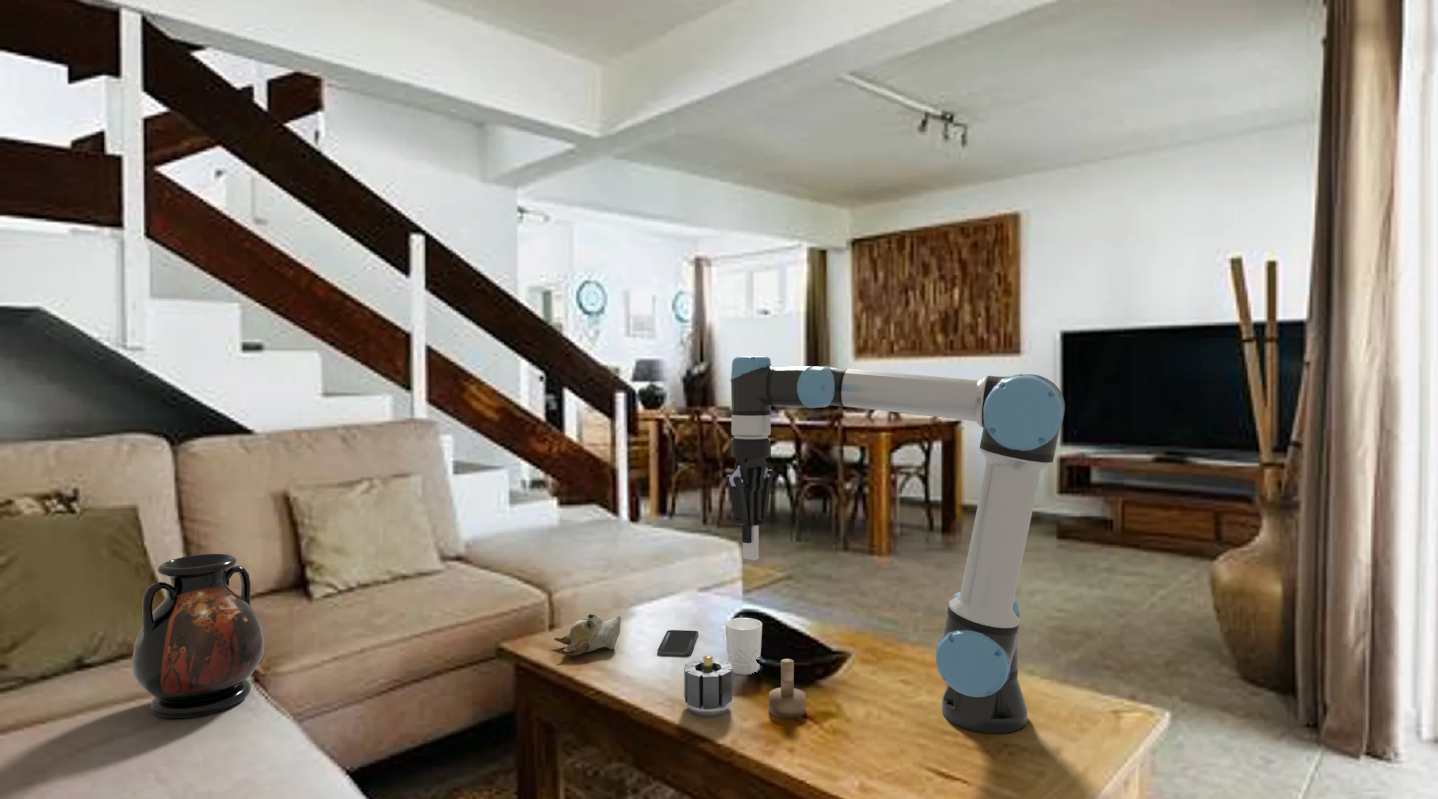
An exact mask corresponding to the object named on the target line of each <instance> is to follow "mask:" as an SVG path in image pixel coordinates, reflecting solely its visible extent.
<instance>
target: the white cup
mask: <svg viewBox="0 0 1438 799" xmlns="http://www.w3.org/2000/svg"><path fill="white" fill-rule="evenodd" d="M762 634H763V622H762V621H760V620H758V619H756V618H752V617H735V618H731V619H729V620H727V621H726V622H725V639H726V640H725V641H726V656H727V662H728V663H730V664H731V666H732V674H735V675H741V676H742V675H743V676H744V675H745V676H747V675H752V673H753V674H755V673H754V672H756V673H758V672H759V671H760V664H758V663H757V661H756V659H757V658H758V657H760V658H761V651H762V636H763V635H762ZM758 670H759V671H758Z"/></svg>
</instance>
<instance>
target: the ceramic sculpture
mask: <svg viewBox="0 0 1438 799" xmlns="http://www.w3.org/2000/svg"><path fill="white" fill-rule="evenodd" d="M621 619H622V618H621V616H620V615H617V616H616V617H612V618H610V619H607V620H602V619H601V617H600V616H598V615H596V614H588V616H587V618H585V619H580V620H577V621H576V622H575V623H573V625H572V627H571V628H570V632H569V633H568V635H565V636H563V637H558V636H557V637H555V638H553V639H554V641H556V642H558V643H560V644H564V645H566V647H565V648H564V649H563V650H560V651H559V653H560V654H562V655H567V656H579V655H581V654H584V653H590V652H593V651H596V650H598V649H601V648H607V649H609V650H614V648H615V647H616V644H617V641H618V639H619V636H620V634H621V621H622V620H621Z"/></svg>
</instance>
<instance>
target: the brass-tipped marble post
mask: <svg viewBox="0 0 1438 799" xmlns="http://www.w3.org/2000/svg"><path fill="white" fill-rule="evenodd" d="M713 657H714V656H712V655H710V654H709V655H708V654H707V655H703V657H702V659H703V670H702V671H701V672H703V673H708V672H716V671H714V670H713V660H714V658H713ZM686 705H687V706H686V709H687V712H688V713H689V714H691V715H693V716H695V717H698V718H704V719H705V718H707V719H709V718H710V719H711V718H718V717H720V716H721V717H722V716H724V715H726V714H727V713H728V712H729V710H730V703H728V704H727V705H725V706H723V707H721V706H719V708H708V709H703V707H701V708H697V707H694V706H691V705H688V704H687V703H686Z"/></svg>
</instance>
